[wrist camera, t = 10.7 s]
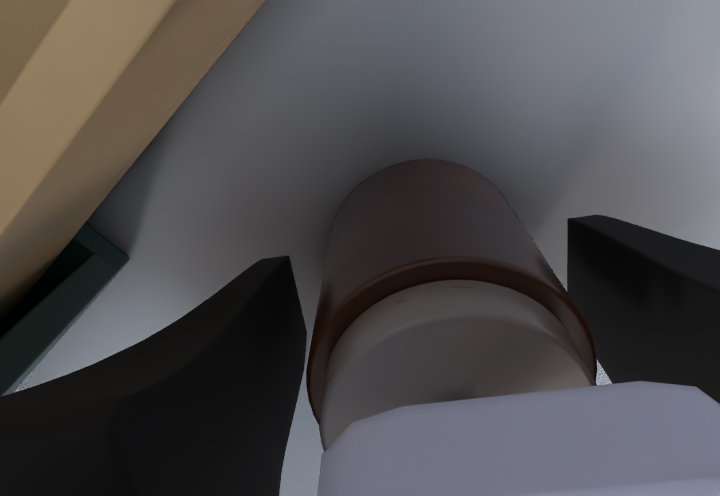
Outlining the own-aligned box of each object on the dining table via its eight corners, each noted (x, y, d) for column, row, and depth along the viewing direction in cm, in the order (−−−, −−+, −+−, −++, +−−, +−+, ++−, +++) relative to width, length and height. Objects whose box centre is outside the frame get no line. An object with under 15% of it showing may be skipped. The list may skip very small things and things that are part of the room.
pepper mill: (346, 338, 14) (325, 599, 8) (313, 173, 13) (254, 348, 6) (520, 317, 14) (639, 575, 8) (514, 144, 12) (663, 300, 6)
